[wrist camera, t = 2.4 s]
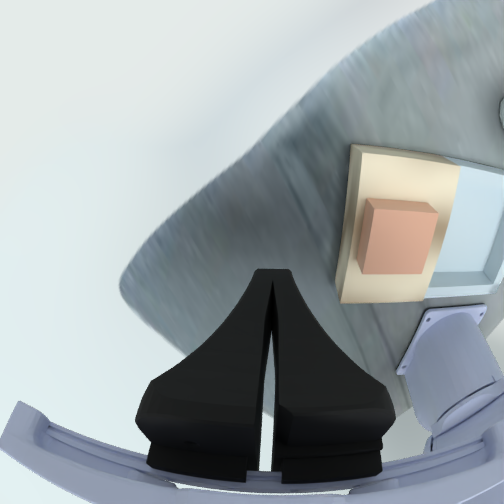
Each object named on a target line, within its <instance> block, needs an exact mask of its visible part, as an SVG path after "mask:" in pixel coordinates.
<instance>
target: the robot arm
mask: <svg viewBox="0 0 504 504" xmlns="http://www.w3.org/2000/svg"><path fill="white" fill-rule="evenodd" d="M486 310H487V306H486V305H485V304H481V305H472V306H461V307H450V308H437V309H429V310H427V311H426V312H425V314H424V316H423V318H422V320H421V323H420V325H419V327H418V329H417V331H416V333H415V335H414V338H413V340H412V342H411V344H410V346H409V348H408V350H407V352H406V353H405V355H404V357H403V359H402V361H401V363H400V365H399V367H398V368H397V370H396V373H397V375H403V374H404V375H405V378H406V382H407V385H408V389H409V393H410V396H411V400H412V404H413V408H414V411H415V415H416V418H417V420H418V421H419V423H420V424H421V425H422V426H423V427H424V428H425V429H426V430H428V431H431V432H432V435H431V436H430V437H429V438H428V439H427V442H426V444H425V448H424V452H423V454H421V455H417V456H413V457H409V458H404V459H400V460H395V461H390V462H385V463H382V462H381V455H380V450H382V449H383V443H382V436H383V435H384V434H385V433H386V432H387V431H388V430H389V428H390V427H391V426H392V425H393V423H394V421H395V420H396V416H395V410H394V406H393V403H392V400H391V398H390V395H389V393H388V390H387V388H386V386H384V385H383V384H381V383H380V382H379V381H377V380H376V379H374V378H373V377H372V376H370V375H369V374H367V373H366V372H365V371H364V370H362V369H361V368H360V367H359V366H358V365H357V364H355V363H354V362H353V361H352V360H351V359H350V358H349V357H348V356H347V355H346V354H345V353H344V352H343V351H342V350H341V349H340V348H339V347H338V346H337V345H336V344H335V343H334V341H333V340H332V339H331V338H330V337H329V336H328V334H327V333H326V332H325V331H324V329H323V328H322V327H321V326H320V324H319V323H318V321H317V320H316V318H315V317H314V315H313V314H312V312H311V311H310V309H309V308H308V306H307V304H306V303H305V301H304V299H303V297H302V296H301V294H300V292H299V290H298V288H297V285H296V283H295V281H294V278H293V276H292V272H291V271H290V270H289V269H257V270H256V271H255V272H254V275H253V277H252V279H251V281H250V283H249V285H248V287H247V289H246V291H245V292H244V294H243V296H242V297H241V299H240V300H239V302H238V303H237V305H236V306H235V308H234V309H233V310H232V312H231V313H230V314H229V316H228V317H227V318H226V319H225V321H224V322H223V323H222V324H221V325H220V327H219V328H218V329H217V330H216V331H215V332H214V333H213V334H212V335H211V336H210V337H209V338H208V339H207V340H206V341H205V342H204V343H203V344H202V345H201V346H200V347H198V348H197V349H196V350H195V351H194V352H192V353H191V354H190V355H189V356H187V357H186V358H185V359H184V360H182V361H181V362H180V363H179V364H177V365H175V366H174V367H173V368H171V369H170V370H168V371H166V372H165V373H163V374H161V375H160V376H158V377H157V378H155V379H153V380H152V381H151V382H150V384H149V385H148V387H147V389H146V391H145V393H144V395H143V397H142V400H141V403H140V406H139V408H138V411H137V415H136V418H135V422H136V424H137V426H138V428H139V429H140V430H141V431H142V433H144V435H145V436H146V437H147V438H148V439H149V441H151V445H150V449H149V453H148V455H144V454H140V453H136V452H133V451H129V450H126V449H122V448H119V447H116V446H112V445H109V444H106V443H103V442H100V441H97V440H94V439H92V438H89V437H86V436H83V435H81V434H79V433H76V432H74V431H71V430H69V429H66V428H64V427H62V426H59V425H57V424H55V423H53V422H50V421H49V419H48V418H47V417H46V416H45V415H44V414H42V413H41V412H40V411H38V410H37V409H35V408H33V407H31V406H29V405H27V404H25V403H23V402H21V401H18V402H17V405H16V406H15V408H14V410H13V412H12V414H11V416H10V419H9V421H8V423H7V425H6V427H5V429H4V432H3V434H2V436H1V438H0V450H2V451H3V452H5V453H6V454H7V455H9V456H10V457H11V458H13V459H15V460H16V461H17V462H19V463H20V464H22V465H23V466H25V467H26V468H28V469H29V470H31V471H33V472H34V473H36V474H38V475H39V476H40V477H42V478H44V479H46V480H47V481H49V482H51V483H53V484H54V485H56V486H58V487H60V488H62V489H64V490H65V491H67V492H70V493H71V494H74V495H75V496H77V497H80V498H82V499H84V500H86V501H88V502H90V503H93V504H504V376H503V374H502V371H501V370H500V367H499V365H498V363H497V361H496V359H495V357H494V355H493V353H492V351H491V349H490V347H489V345H488V343H487V341H486V340H485V338H484V336H483V334H482V332H481V330H480V329H479V327H478V325H479V323H480V321H481V319H482V317H483V316H484V314H485V312H486ZM271 331H272V340H273V353H274V367H275V405H274V428H273V429H274V430H273V447H272V464H271V472H270V471H269V472H268V471H267V472H266V471H259V461H260V445H261V444H260V443H261V427H262V411H263V393H264V380H265V372H266V365H267V359H268V352H269V345H270V338H271ZM165 480H166V481H165ZM168 481H171V482H175V483H180V484H186V485H192V486H197V487H204V488H211V489H219V490H228V491H240V492H254V493H309V492H325V491H336V490H345V489H351V490H350V491H349V494H348V495H339V494H315V495H251V494H250V495H249V494H237V493H227V492H218V491H210V490H200V489H192V488H191V489H190V488H189V489H188V488H185V489H184V488H182V489H178V488H177V487H176V485H175V484H174V483H171V482H168ZM352 488H353V489H352Z"/></svg>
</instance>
